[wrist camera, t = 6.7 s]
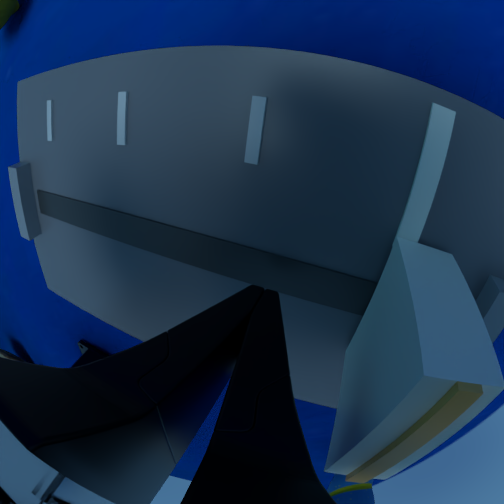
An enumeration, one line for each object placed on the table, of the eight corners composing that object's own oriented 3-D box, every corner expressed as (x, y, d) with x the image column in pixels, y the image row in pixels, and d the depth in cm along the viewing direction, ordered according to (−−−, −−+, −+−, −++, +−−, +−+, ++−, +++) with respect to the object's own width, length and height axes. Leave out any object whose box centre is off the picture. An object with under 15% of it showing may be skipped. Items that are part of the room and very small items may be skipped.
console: (406, 392, 13) (406, 437, 11) (66, 274, 18) (39, 295, 16) (534, 147, 6) (578, 166, 4) (44, 77, 11) (3, 84, 9)
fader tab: (391, 361, 10) (384, 485, 6) (345, 351, 10) (322, 477, 6) (452, 254, 7) (507, 395, 3) (396, 236, 8) (424, 385, 3)
